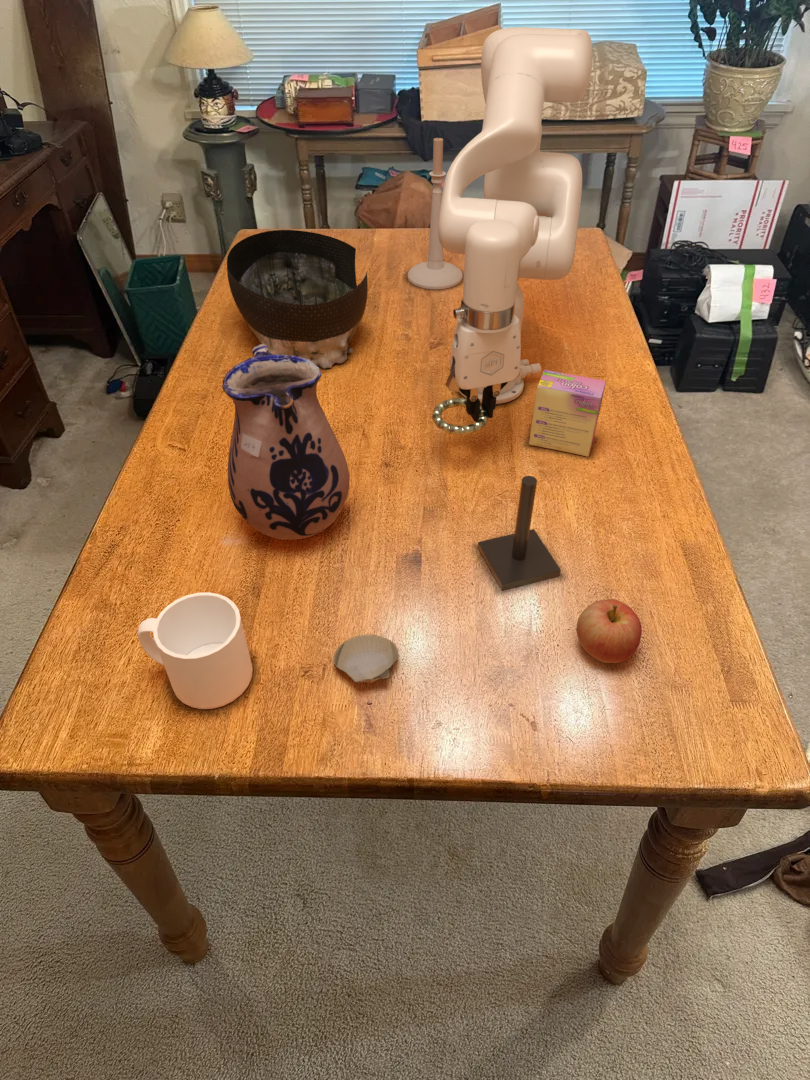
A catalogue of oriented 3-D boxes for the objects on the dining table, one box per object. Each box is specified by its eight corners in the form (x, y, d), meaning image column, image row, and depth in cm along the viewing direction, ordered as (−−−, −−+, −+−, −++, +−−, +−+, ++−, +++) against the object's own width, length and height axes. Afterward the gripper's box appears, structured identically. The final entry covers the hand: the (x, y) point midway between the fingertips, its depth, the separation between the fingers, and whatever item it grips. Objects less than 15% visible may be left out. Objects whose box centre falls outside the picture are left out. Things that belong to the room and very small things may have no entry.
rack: (532, 534, 114) (545, 453, 104) (559, 575, 108) (576, 494, 97) (477, 547, 112) (484, 466, 102) (501, 590, 106) (511, 509, 95)
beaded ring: (475, 399, 126) (475, 392, 125) (495, 430, 120) (496, 422, 119) (425, 409, 124) (425, 402, 123) (443, 441, 118) (443, 434, 117)
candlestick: (463, 289, 172) (471, 146, 151) (407, 289, 172) (406, 146, 151) (461, 265, 181) (468, 127, 160) (407, 264, 181) (407, 127, 161)
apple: (580, 617, 102) (590, 577, 97) (639, 635, 100) (653, 594, 95) (565, 662, 97) (575, 621, 92) (628, 681, 95) (642, 641, 89)
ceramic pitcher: (260, 574, 108) (231, 431, 91) (215, 489, 122) (183, 350, 104) (371, 535, 114) (364, 393, 97) (316, 458, 128) (302, 321, 110)
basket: (377, 295, 170) (375, 222, 159) (363, 380, 145) (359, 300, 134) (252, 292, 171) (241, 220, 160) (217, 376, 146) (200, 297, 135)
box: (594, 438, 131) (606, 379, 123) (589, 457, 127) (601, 397, 119) (535, 427, 134) (543, 368, 126) (528, 445, 130) (536, 386, 122)
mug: (260, 647, 99) (249, 594, 92) (242, 713, 92) (228, 661, 85) (166, 641, 100) (147, 588, 93) (141, 706, 93) (118, 654, 85)
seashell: (390, 649, 101) (330, 644, 99) (395, 631, 99) (334, 626, 97) (397, 694, 94) (333, 689, 92) (402, 676, 92) (338, 671, 91)
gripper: (446, 333, 106) (442, 438, 119) (548, 314, 109) (534, 418, 122) (428, 307, 111) (426, 411, 124) (527, 290, 114) (515, 393, 127)
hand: (480, 414), depth 123 cm, fingers closed on beaded ring, 1 cm apart
